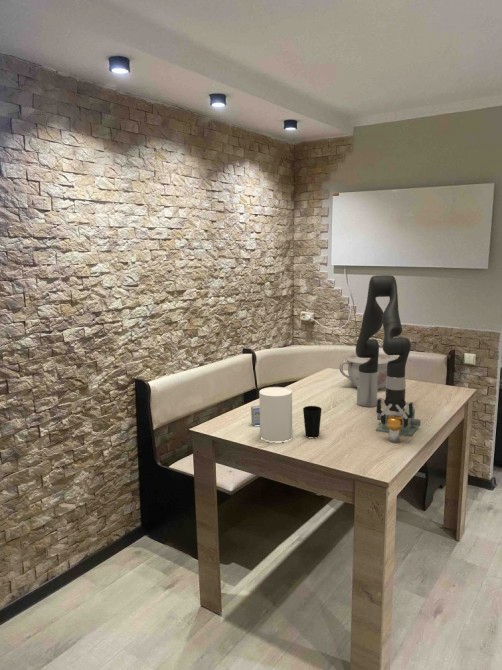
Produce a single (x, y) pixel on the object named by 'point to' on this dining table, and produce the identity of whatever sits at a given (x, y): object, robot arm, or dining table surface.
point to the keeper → (393, 413)
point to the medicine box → (255, 415)
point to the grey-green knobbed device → (406, 431)
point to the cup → (312, 420)
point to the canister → (275, 413)
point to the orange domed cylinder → (394, 427)
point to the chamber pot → (355, 361)
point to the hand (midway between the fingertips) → (394, 425)
